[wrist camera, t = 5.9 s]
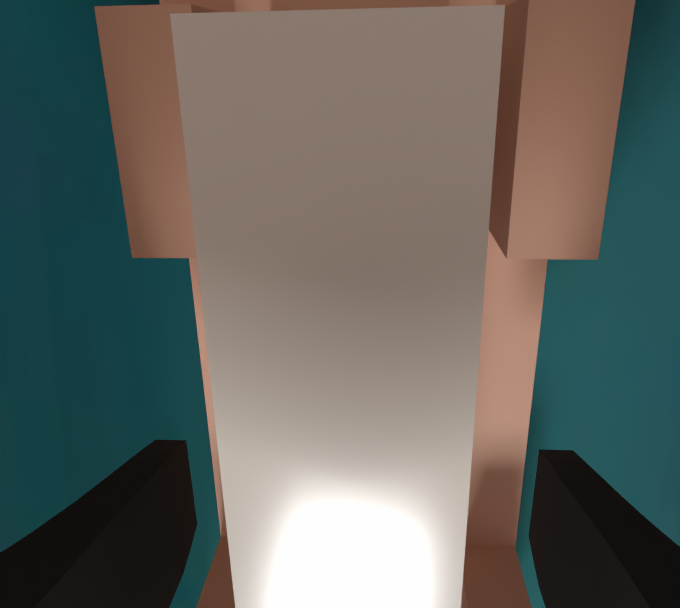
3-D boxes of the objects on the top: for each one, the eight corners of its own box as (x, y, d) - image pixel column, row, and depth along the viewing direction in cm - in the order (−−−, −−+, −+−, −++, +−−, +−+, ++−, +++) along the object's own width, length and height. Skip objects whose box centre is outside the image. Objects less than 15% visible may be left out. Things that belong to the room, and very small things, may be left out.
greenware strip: (448, 31, 12) (505, 5, 6) (422, 634, 18) (439, 897, 12) (270, 35, 12) (169, 13, 6) (302, 628, 18) (265, 883, 12)
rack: (567, -44, 12) (648, -91, 8) (494, 648, 19) (520, 791, 15) (171, -32, 13) (82, -70, 9) (242, 636, 20) (209, 770, 16)
